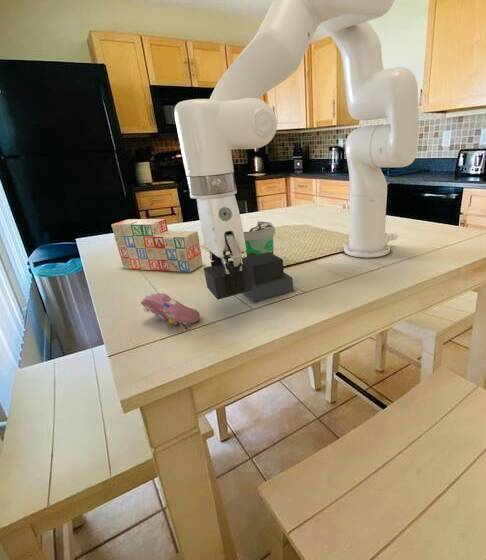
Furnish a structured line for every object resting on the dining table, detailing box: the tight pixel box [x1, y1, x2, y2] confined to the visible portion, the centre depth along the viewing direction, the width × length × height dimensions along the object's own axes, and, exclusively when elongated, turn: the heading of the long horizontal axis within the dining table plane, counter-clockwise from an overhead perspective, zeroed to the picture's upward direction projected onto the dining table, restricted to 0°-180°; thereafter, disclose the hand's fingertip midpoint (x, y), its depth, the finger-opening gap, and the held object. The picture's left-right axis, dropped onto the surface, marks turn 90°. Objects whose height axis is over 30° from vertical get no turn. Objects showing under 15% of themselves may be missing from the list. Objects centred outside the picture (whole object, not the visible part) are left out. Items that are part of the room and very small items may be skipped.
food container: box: [243, 220, 277, 257], centre depth 86 cm, size 12×6×10 cm, turn 168°
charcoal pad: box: [241, 252, 285, 285], centre depth 70 cm, size 6×6×4 cm
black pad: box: [203, 261, 252, 301], centre depth 61 cm, size 6×6×4 cm
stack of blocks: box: [111, 218, 204, 273], centre depth 88 cm, size 21×6×12 cm, turn 73°
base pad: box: [244, 272, 294, 302], centre depth 72 cm, size 9×9×3 cm
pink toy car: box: [140, 292, 201, 326], centre depth 60 cm, size 10×5×7 cm, turn 56°
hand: (228, 285), depth 61 cm, fingers closed on black pad, 6 cm apart
